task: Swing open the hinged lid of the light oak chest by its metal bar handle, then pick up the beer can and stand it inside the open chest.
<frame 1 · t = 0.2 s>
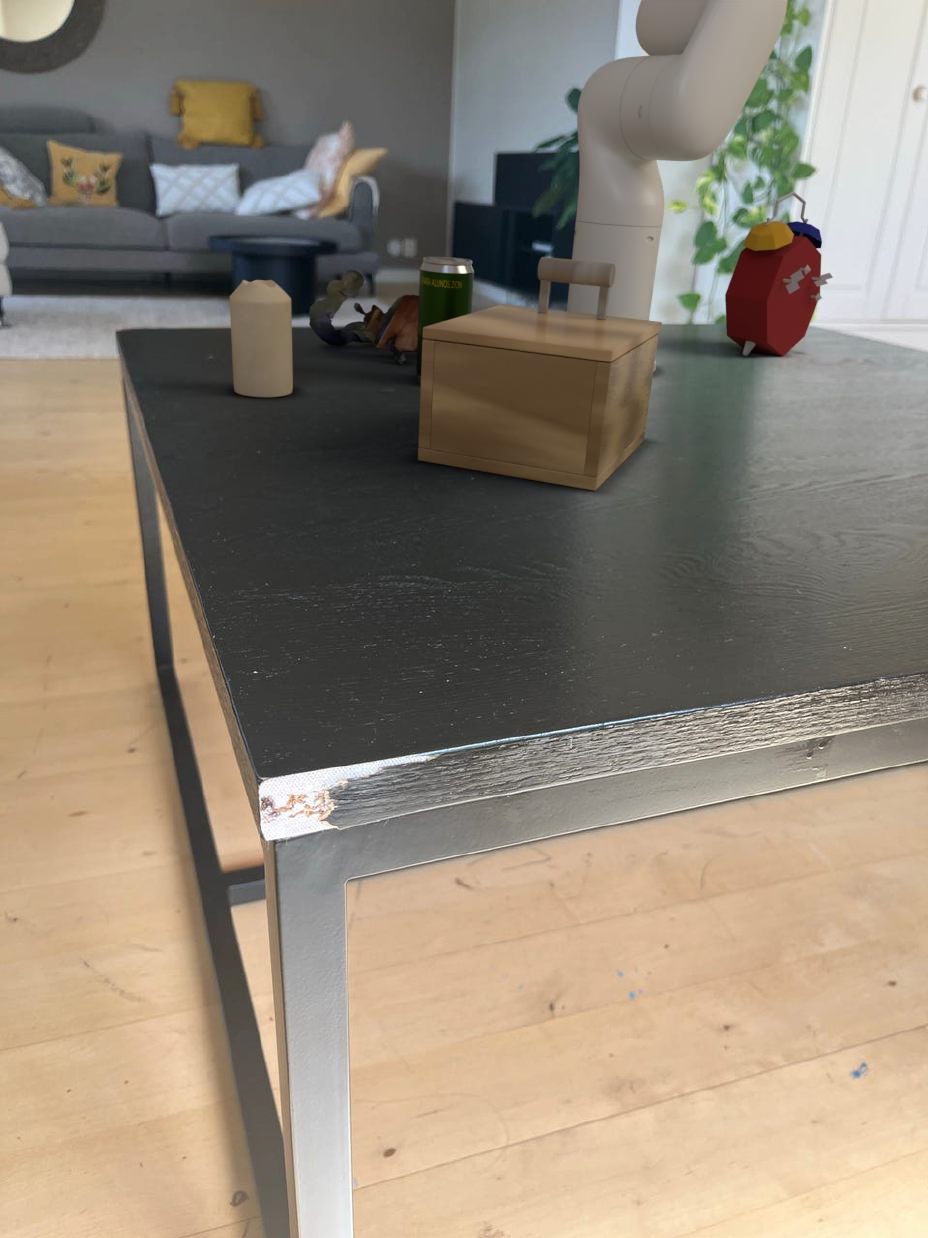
alarm clock: (770, 355, 128), on the table
beer can: (441, 383, 99), on the table
figurine: (381, 355, 112), on the table
chest: (537, 450, 77), on the table
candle: (263, 393, 91), on the table
lid: (552, 300, 72), point 12 cm above the table, hinge at 0.0°
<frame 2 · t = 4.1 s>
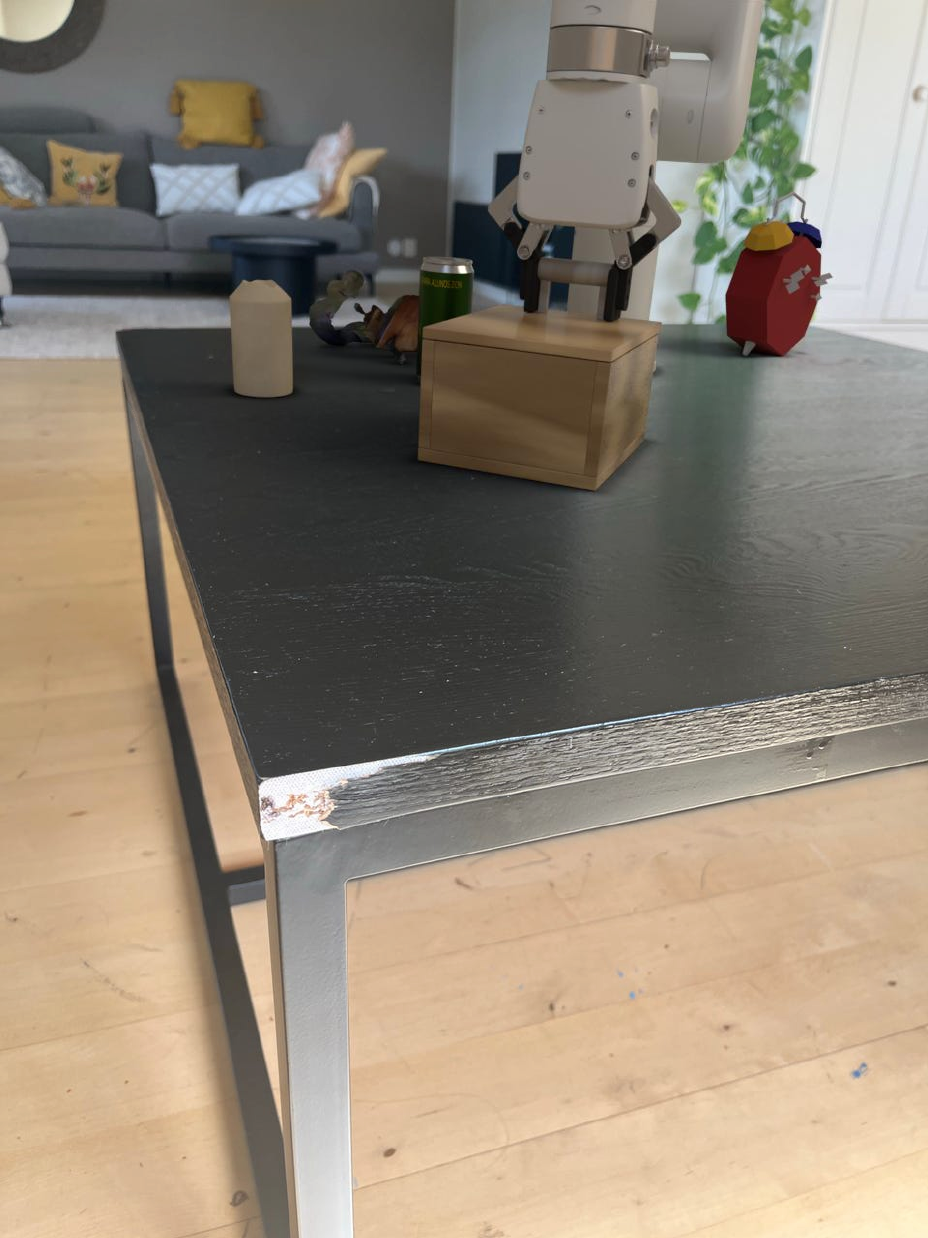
hand: (572, 312, 78), 10 cm above the table, tool pointing down, fingers closed on lid, 6 cm apart
lid: (552, 300, 72), point 12 cm above the table, hinge at 0.0°, touching gripper
everything else where it was.
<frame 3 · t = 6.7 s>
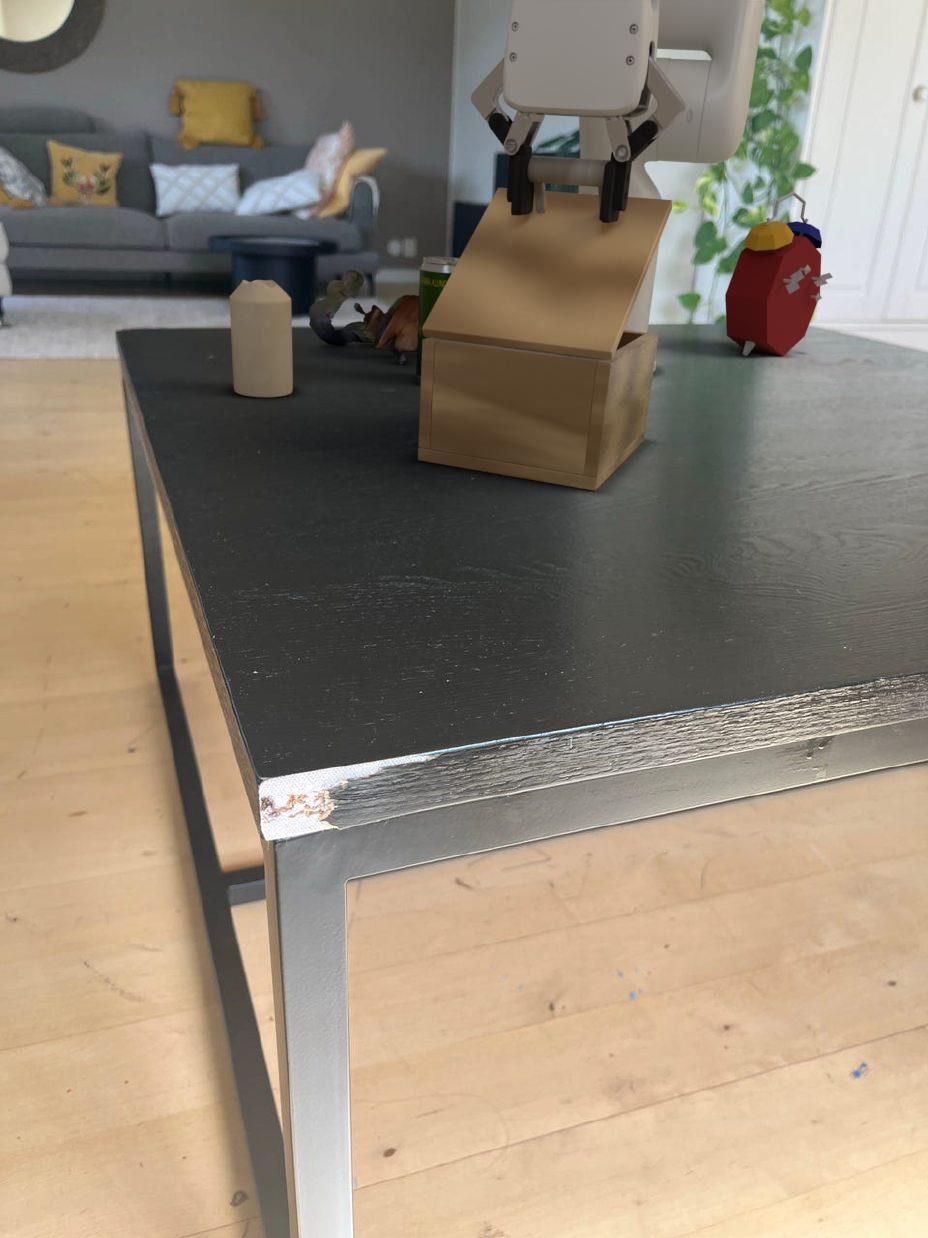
hand: (564, 215, 71), 18 cm above the table, tool pointing down, fingers closed on lid, 6 cm apart
lid: (547, 241, 68), point 16 cm above the table, hinge at 33.6°, touching gripper
everything else where it was.
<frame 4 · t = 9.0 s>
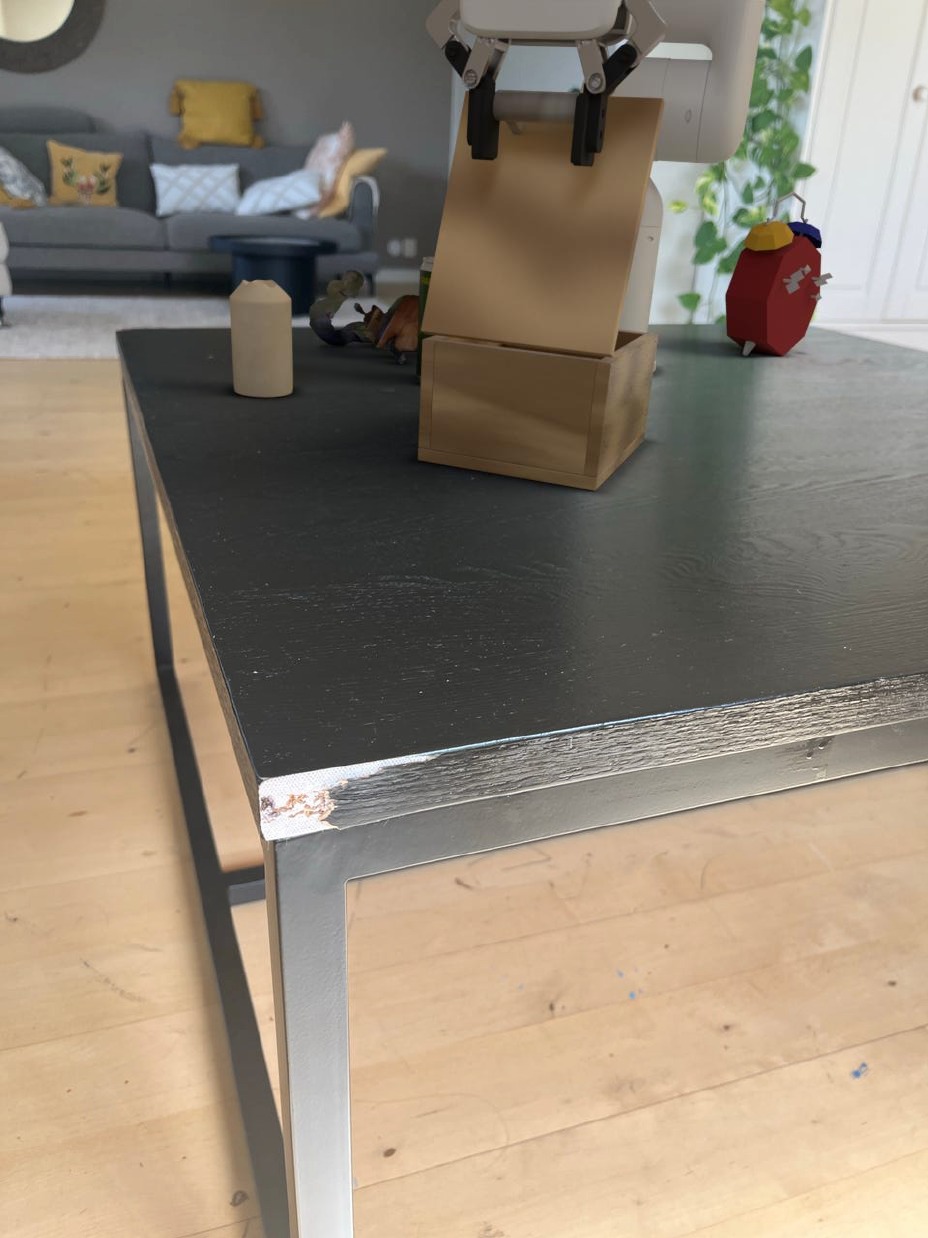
hand: (532, 159, 62), 21 cm above the table, tool pointing down, fingers closed on lid, 6 cm apart
lid: (529, 209, 63), point 18 cm above the table, hinge at 68.5°, touching gripper
everything else where it was.
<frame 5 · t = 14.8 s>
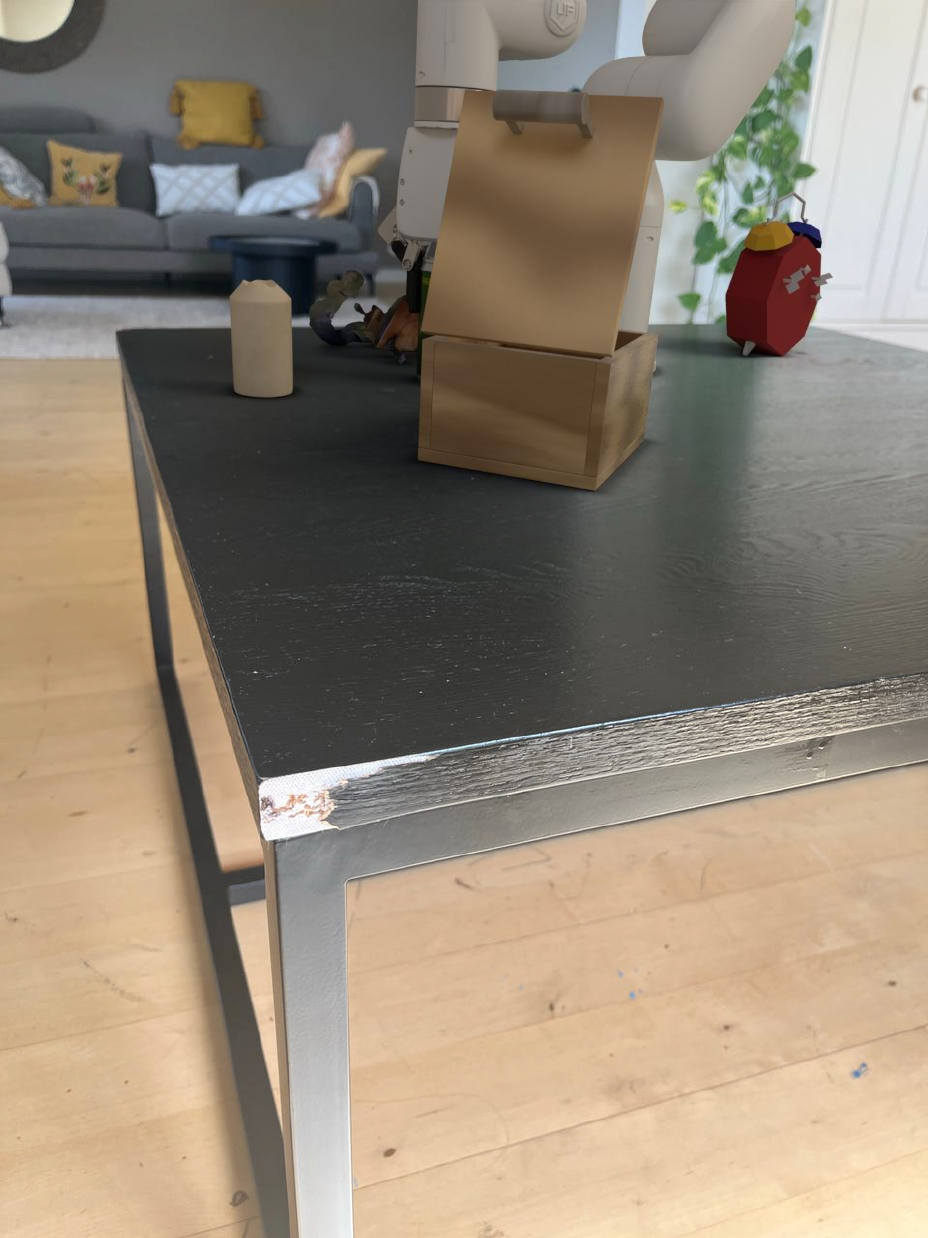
hand: (444, 313, 96), 7 cm above the table, tool pointing down, fingers closed on beer can, 5 cm apart
beer can: (441, 383, 99), on the table, touching gripper
lid: (529, 209, 63), point 18 cm above the table, hinge at 68.9°
everything else where it was.
when the fingers open (8 cm above the table, at t = 22.0 s): beer can stays where it is, resting on chest.
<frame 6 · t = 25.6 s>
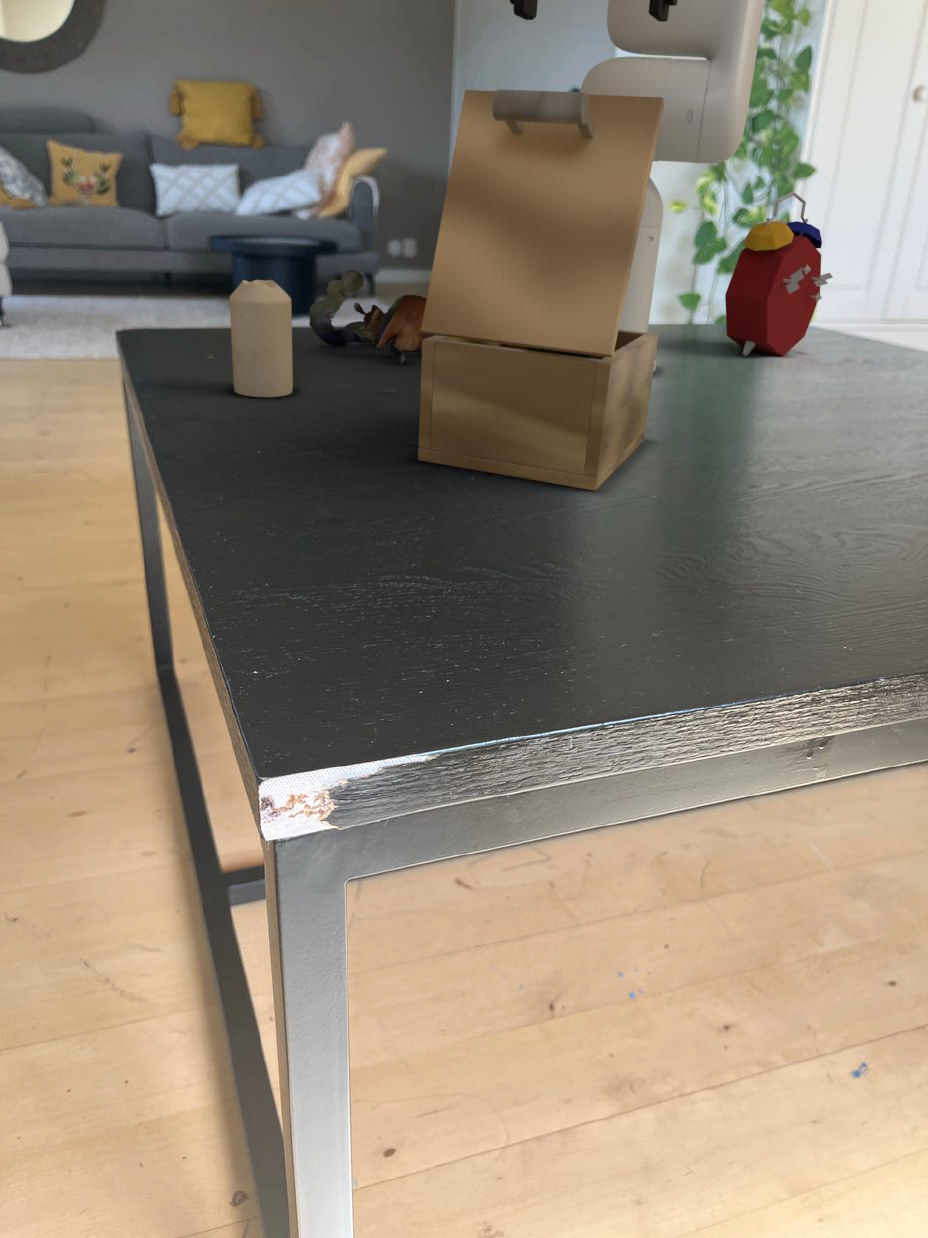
hand: (589, 17, 67), 30 cm above the table, tool pointing down, fingers open, 9 cm apart
beer can: (549, 432, 79), point 1 cm above the table, touching chest
everything else where it was.
at the end: lid at +69° (first picture: +0°); beer can inside the target area in the chest (3.0 cm from its centre), point 0.8 cm above the chest's base; beer can tilted 0° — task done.
